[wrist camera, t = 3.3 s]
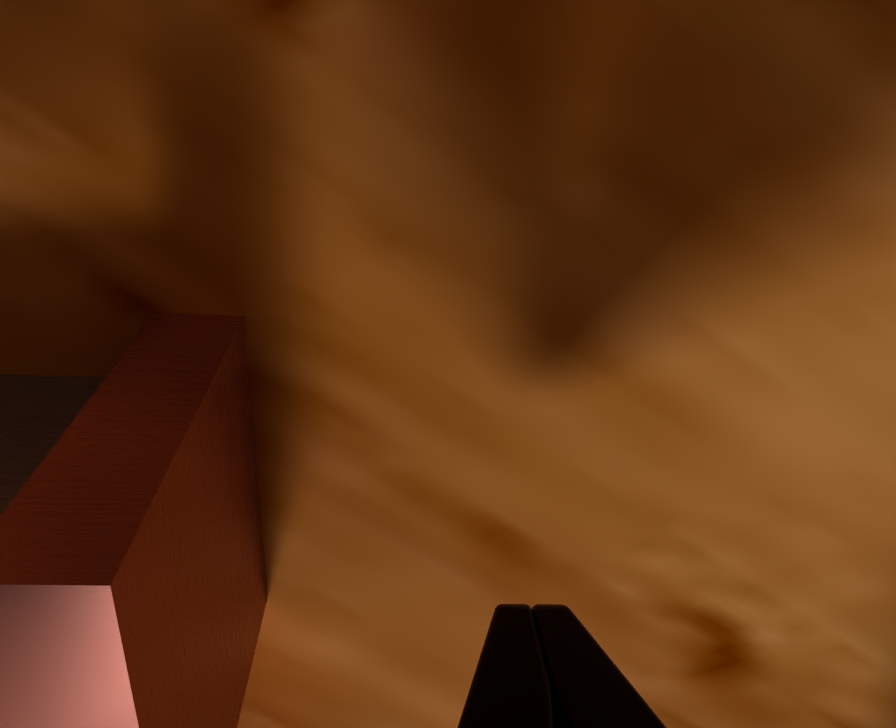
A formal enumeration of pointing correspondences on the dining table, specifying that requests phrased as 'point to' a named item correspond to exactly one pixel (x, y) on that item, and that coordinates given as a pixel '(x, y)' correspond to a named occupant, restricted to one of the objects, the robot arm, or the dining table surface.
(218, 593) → the l-shaped block
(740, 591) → the dining table surface
